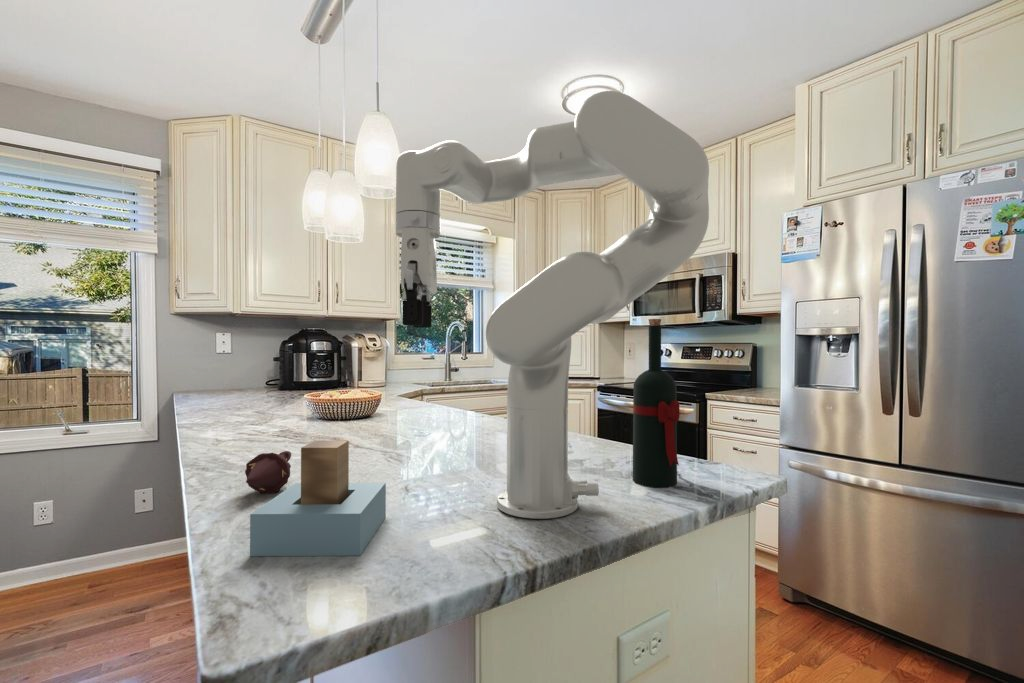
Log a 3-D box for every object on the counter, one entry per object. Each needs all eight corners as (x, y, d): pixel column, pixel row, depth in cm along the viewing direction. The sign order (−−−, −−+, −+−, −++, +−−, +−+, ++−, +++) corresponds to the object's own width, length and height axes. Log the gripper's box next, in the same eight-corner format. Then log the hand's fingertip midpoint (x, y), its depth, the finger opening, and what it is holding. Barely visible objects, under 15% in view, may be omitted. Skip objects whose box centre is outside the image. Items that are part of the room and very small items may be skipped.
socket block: (385, 517, 71) (385, 482, 71) (360, 555, 58) (360, 513, 58) (295, 517, 71) (295, 483, 71) (249, 556, 58) (250, 514, 58)
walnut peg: (348, 527, 67) (348, 440, 67) (336, 541, 63) (337, 447, 63) (314, 528, 67) (315, 440, 67) (300, 541, 63) (301, 447, 63)
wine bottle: (654, 493, 83) (654, 316, 83) (624, 477, 93) (625, 319, 93) (694, 489, 85) (694, 317, 85) (661, 474, 95) (661, 320, 95)
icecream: (278, 464, 77) (310, 452, 91) (231, 453, 76) (271, 442, 91) (264, 509, 76) (299, 489, 91) (217, 497, 75) (260, 479, 90)
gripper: (433, 214, 76) (432, 324, 76) (445, 238, 93) (445, 328, 93) (384, 213, 75) (384, 324, 75) (406, 237, 93) (405, 328, 93)
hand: (417, 326), depth 84 cm, fingers open, 9 cm apart
